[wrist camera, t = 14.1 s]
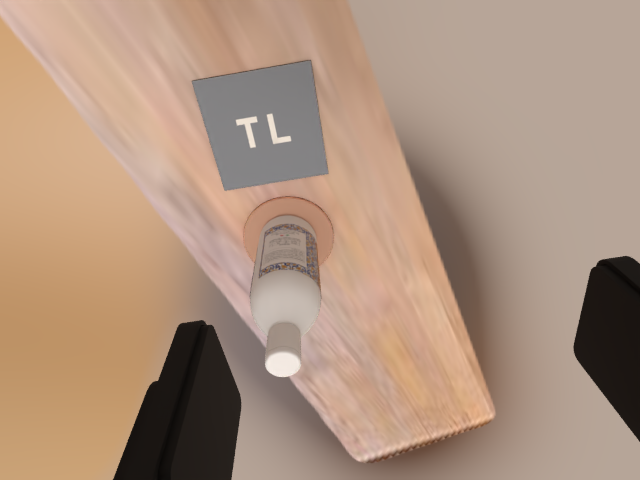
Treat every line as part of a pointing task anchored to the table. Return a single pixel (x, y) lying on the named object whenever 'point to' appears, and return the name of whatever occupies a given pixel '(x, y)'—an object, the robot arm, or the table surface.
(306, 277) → the bath foam
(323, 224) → the flat salmon disc
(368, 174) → the table surface
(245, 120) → the tile
